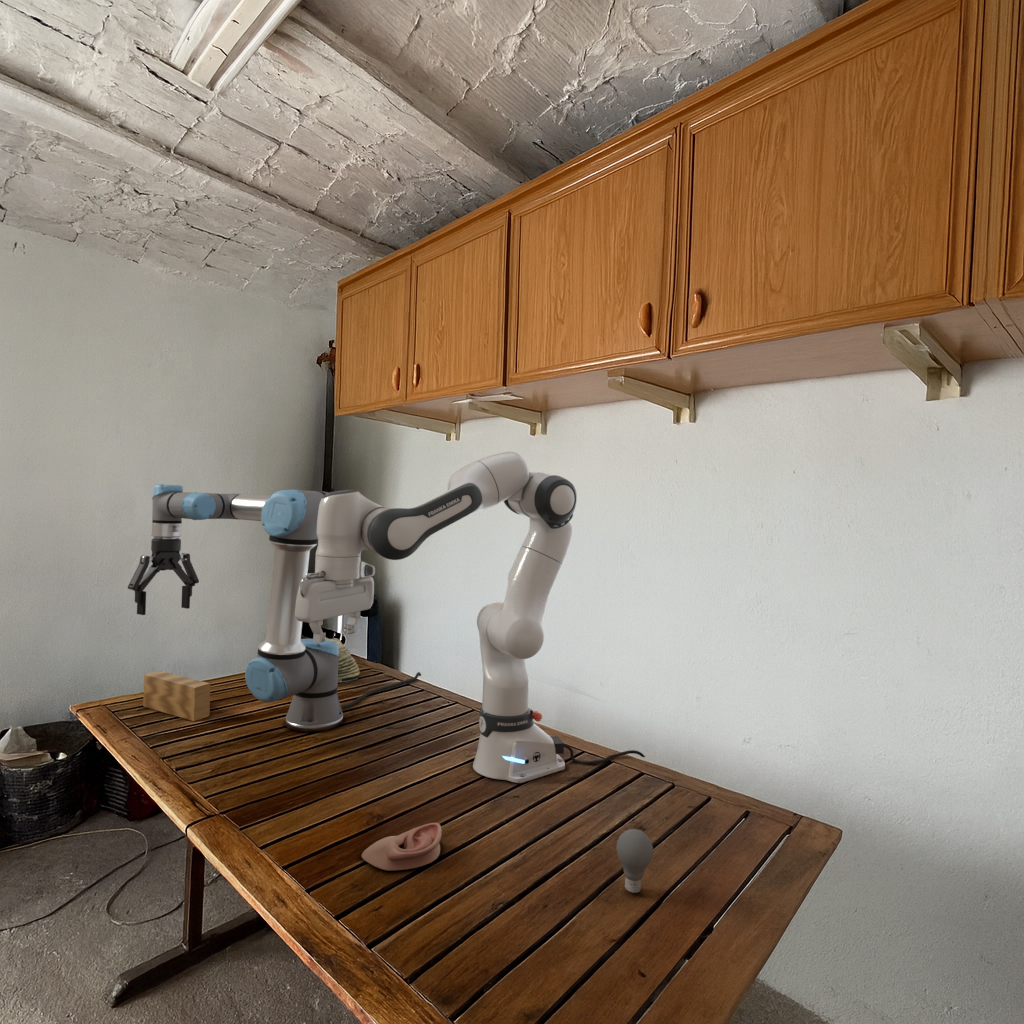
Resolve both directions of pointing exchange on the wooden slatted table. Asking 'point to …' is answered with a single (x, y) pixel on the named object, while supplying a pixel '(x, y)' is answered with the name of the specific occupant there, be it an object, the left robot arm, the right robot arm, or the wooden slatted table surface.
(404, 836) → the anatomical model
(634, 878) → the light bulb
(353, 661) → the fossil
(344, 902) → the wooden slatted table surface
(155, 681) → the bar
